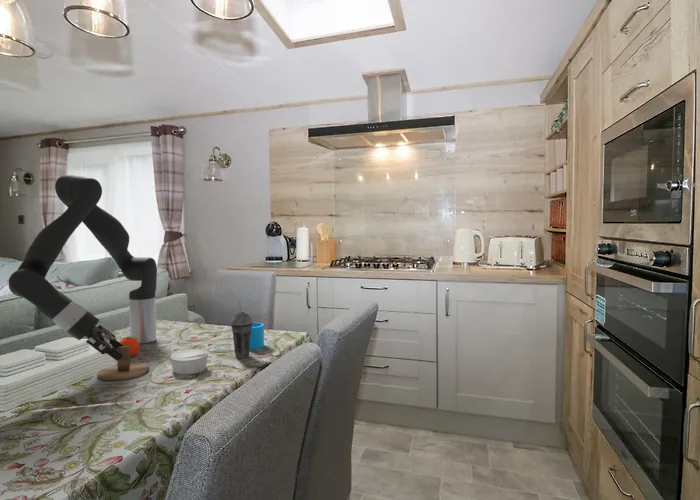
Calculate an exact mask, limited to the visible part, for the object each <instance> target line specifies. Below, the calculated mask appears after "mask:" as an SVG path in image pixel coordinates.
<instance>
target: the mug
mask: <svg viewBox="0 0 700 500" xmlns="http://www.w3.org/2000/svg"><path fill="white" fill-rule="evenodd" d="M252 323H253V324H252V329H251V337H250V350H258V349H263V347H264V346H265V324H264V323H261V322H252Z"/></svg>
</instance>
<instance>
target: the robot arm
mask: <svg viewBox="0 0 700 500" xmlns="http://www.w3.org/2000/svg"><path fill="white" fill-rule="evenodd" d="M54 191H55V193H56V195H57V198H58V199H59V200H60V201H61V202H62V203H63V204H64V205H65V206H66V207H67V208H66V210H64V212H63V213H62V214H61V215H60V216H58V217H57V218H55V219H54V220H53V221H52V222H50V223H49V224H48V225H46V226H45V227H44V228H43V229H42V230H41V231H39V233H37V235H36V236H35V238H34V239H33V241H32V243H30V246H29V248H27V251H26V253H25V256H24V259H23V261H22V262H21V263H20V265H19V267H18V268H17V270H16V271H14V272H12V274H10V276H9V278H8V288H9V290H10V292H11V293H12V294H13V295H15V296H17V297H19V298H20V297H21V298H24V299H26V300H27V301H28V302H30V303H31V304H33V305H34V306H35V307H36V309H37V310H38V311H39V312H40V313H41V314H43V315H44V316H46V317H47V318H49V319H50V321H51V320H52V321H53V322H54V323H55V324H56V325H57V326H58V327H59V328H61V329H63V331H65V332H66V333H67V334H69V335H70V336H72V337H74V338H75V339H76V340H78V341H81V340H82V339H84V338H87V340H86V341H85V342H86V343H87V344H88V345H90V346H91V347H92V348H93V349H94V350H96V351H97V352H99V353H100V354H101V355H108V356H110V357H111V358H113V360H115V361H116V362H118V360H120V359H121V358H122V356H123V354H122V353H120V352H119V351H118V350H117V348H118V347H120V346H124V345H123V344H121V343H120V341H118V340H117V338H116V336H115V334H113V333H112V332H111V331H109V330H108V329H107V328H104V327H103V325H100V324H99V322H100V319H99V318H98V317H97V316H95V315H94V314H92V313H91V312H89V311H88V310H87V309H86V308H84V307H83V306H81V304H79V303H78V302H75V301H74V300H72V299H71V298H69V297H68V296H67V295H66V294H65V293H62V292H61V291H59V290H58V289H57V288H56V287H55V286H53V285H52V283H50V282H49V280H47V279H46V277H47V274H48V272H49V270H50V268H51V267H52V265H53V264H54V262H56V260H57V259H58V257H59V255H60V253H61V252H62V250H63V248H64V247H65V245H66V243H67V241H68V240H69V239H70V237H71V236H72V234H73V233H74V232H75V231H76V230H77V228H78V227H79V226H80V225H81V224H82V223H83V224H84V225H85V226H86V228H87V229H88V231H90V233H91V234H92V235H93V236H94V237H95V239H96V240H97V241H98V243H100V245H102V247H103V248H104V249H105V250H106V252H107V253H108V255H110V257H111V258H112V260H113V261H114V262H115V263H116V266H117V267H118V268H119V270H120V271H121V273H122V275H123V276H124V277H125V278H126V279H127V280H129V281H131V282H132V281H133V282H135V281H137V282H141V284H140V286H139V287H137V288H135V289H132V290H130V291H129V293H128V305H129V309H128V311H129V337H133V338H135V337H136V338H137V339H138V342H139V344H140V345H141V344H148V343H152V342H154V341H157V314H156V313H157V312H156V310H157V309H156V293H157V279H158V267H157V262H156V260H155V259H154V258H153V257H150V256H149V257H143V256H140V257H138V256H137V257H136V256H134V255H132V254H131V252H130V251H129V250H128V248H129V244H130V235H129V233H128V231H127V230H126V228H125V227H124V225H123V224H122V222H120V220H118V218H116V217H115V216H113V215H112V214H111V213H109V212H108V211H106V210H104V209H103V208H101V207H100V206H99V205H97V204H98V203H99V202H100V200H101V198H102V195H103V187H102V185H101V183H100V182H99V180H97V179H96V178H94V177H89V176H82V175H77V174H76V175H75V174H65V175H61V176H60V177H58V178H57V179H56V181H55V183H54ZM98 324H99V325H98ZM97 325H98V326H97ZM136 338H135V339H136Z"/></svg>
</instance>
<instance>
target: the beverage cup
mask: <svg viewBox="0 0 700 500" xmlns="http://www.w3.org/2000/svg"><path fill="white" fill-rule="evenodd" d="M238 307H239V312H238V313H236V314H235V315H233V317H232V319H231V324H230V327H231V331H232V337H233V339H232V340H233V346H234V347H233V348H234V354H235V358H236V359H239V360H242V359H243V360H244V359H248V358H249V357H250V352H251V351H250V350H251V349H250V337H251V329H252V324H253V323H254V322H253V319H252V317H251V316H250V315H249V314H248V313H247V312H242V307H241V299H239V300H238Z"/></svg>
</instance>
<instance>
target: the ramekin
mask: <svg viewBox="0 0 700 500" xmlns="http://www.w3.org/2000/svg"><path fill="white" fill-rule="evenodd" d="M208 357H209V352H208V351H207V350H206V349H205V350H204V349H197V348H193V349H192V348H191V349H185V350H180V351H175V352H174V353H173V354H171V355H170V361H171V368H172V372H174V374H177V375H192V374H197V373H198V374H201V373H202V372H204V371H205V369H206V368H207V363H208V362H207V361H208Z"/></svg>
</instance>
